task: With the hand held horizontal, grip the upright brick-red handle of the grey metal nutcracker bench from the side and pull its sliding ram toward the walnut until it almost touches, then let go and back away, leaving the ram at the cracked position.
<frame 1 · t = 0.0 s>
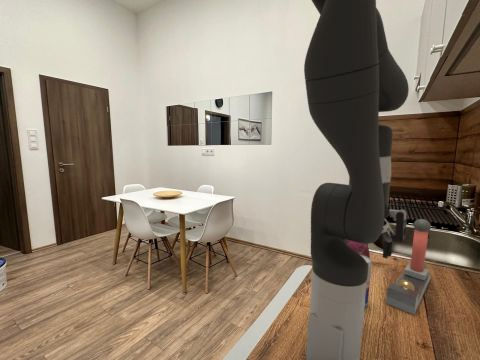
hand: (364, 250, 54), 17 cm above the countertop, tool pointing down, fingers open, 8 cm apart
nutcracker bench: (409, 290, 69), on the countertop
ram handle: (419, 247, 72), point 11 cm above the countertop, slide at 0.0 cm
energy drink: (355, 303, 63), on the countertop
vegetable: (353, 258, 88), on the countertop
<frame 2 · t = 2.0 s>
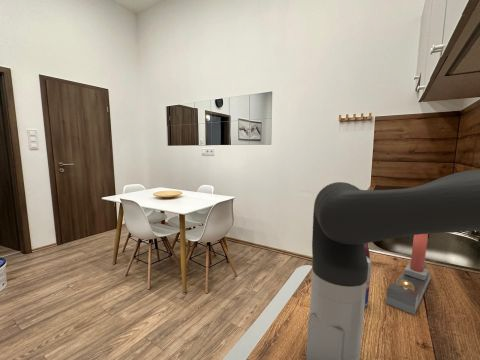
hand: (478, 236, 63), 17 cm above the countertop, tool horizontal, fingers open, 8 cm apart
nothing on the countertop moved.
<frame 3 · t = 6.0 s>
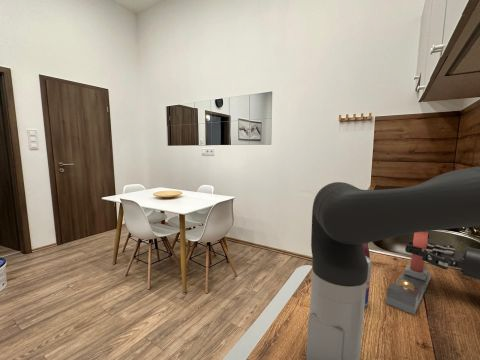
hand: (407, 246, 74), 10 cm above the countertop, tool horizontal, fingers closed on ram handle, 3 cm apart
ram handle: (419, 247, 72), point 11 cm above the countertop, slide at 0.0 cm, touching gripper
everything else where it was.
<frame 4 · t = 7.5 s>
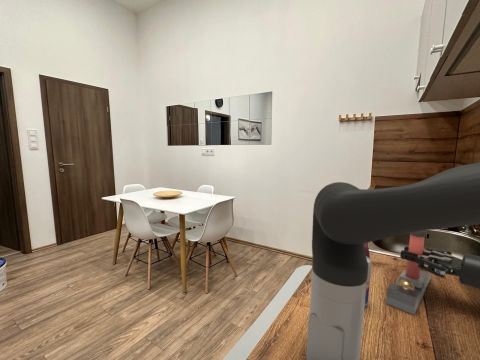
hand: (403, 251, 70), 10 cm above the countertop, tool horizontal, fingers closed on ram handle, 3 cm apart
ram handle: (415, 253, 68), point 11 cm above the countertop, slide at 5.6 cm, touching gripper
everything else where it was.
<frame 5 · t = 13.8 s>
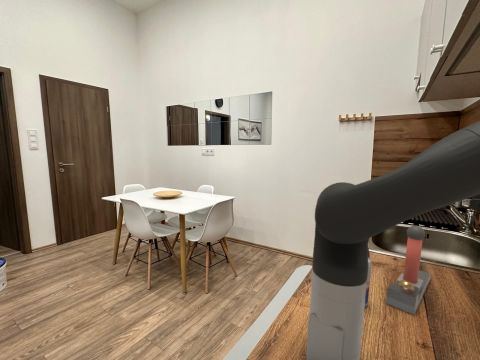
hand: (471, 200, 55), 28 cm above the countertop, tool horizontal, fingers open, 8 cm apart
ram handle: (413, 256, 66), point 11 cm above the countertop, slide at 8.4 cm
everything else where it was.
at the end: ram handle slide at 8.4 cm; the gripper is holding nothing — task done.
